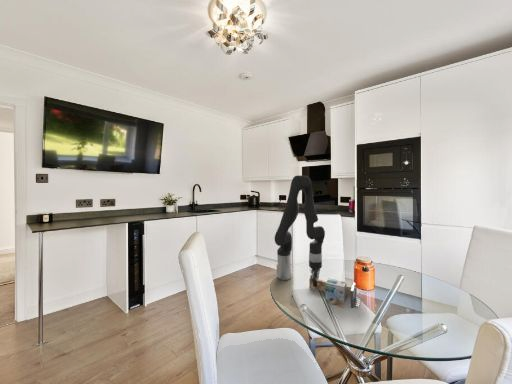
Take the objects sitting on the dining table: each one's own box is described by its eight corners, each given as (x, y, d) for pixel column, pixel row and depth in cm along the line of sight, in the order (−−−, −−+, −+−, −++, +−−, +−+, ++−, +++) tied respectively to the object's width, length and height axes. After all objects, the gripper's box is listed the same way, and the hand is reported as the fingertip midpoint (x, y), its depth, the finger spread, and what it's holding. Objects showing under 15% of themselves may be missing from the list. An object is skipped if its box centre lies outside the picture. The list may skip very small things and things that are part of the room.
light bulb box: (325, 300, 143) (325, 282, 142) (328, 294, 149) (328, 277, 148) (344, 305, 138) (344, 287, 137) (346, 299, 144) (346, 281, 142)
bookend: (350, 307, 135) (350, 290, 134) (353, 298, 144) (353, 282, 143) (358, 309, 133) (358, 292, 132) (360, 300, 142) (360, 283, 141)
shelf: (303, 297, 147) (303, 288, 146) (310, 286, 159) (310, 277, 158) (353, 309, 133) (353, 299, 132) (356, 296, 145) (356, 287, 145)
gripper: (312, 254, 154) (312, 280, 156) (305, 262, 142) (305, 290, 145) (324, 256, 150) (324, 282, 153) (318, 264, 139) (318, 293, 141)
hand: (315, 286), depth 149 cm, fingers closed
